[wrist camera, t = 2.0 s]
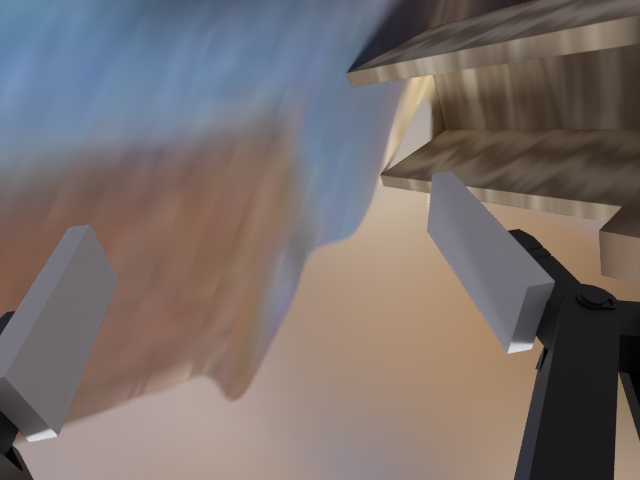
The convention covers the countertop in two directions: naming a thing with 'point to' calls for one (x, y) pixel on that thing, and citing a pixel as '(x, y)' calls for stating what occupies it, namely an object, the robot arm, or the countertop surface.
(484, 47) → the birch shelf
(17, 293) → the countertop surface
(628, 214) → the brown box and bar
